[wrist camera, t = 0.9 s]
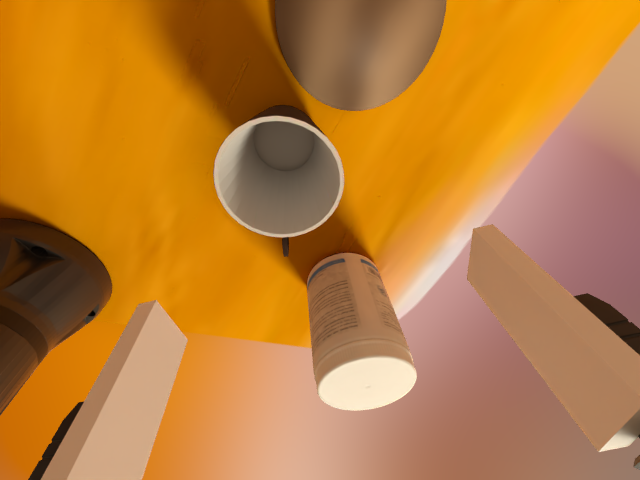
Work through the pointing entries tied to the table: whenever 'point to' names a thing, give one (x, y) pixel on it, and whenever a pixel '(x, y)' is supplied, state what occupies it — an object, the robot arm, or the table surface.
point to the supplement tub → (356, 336)
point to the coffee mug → (279, 174)
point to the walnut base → (358, 47)
